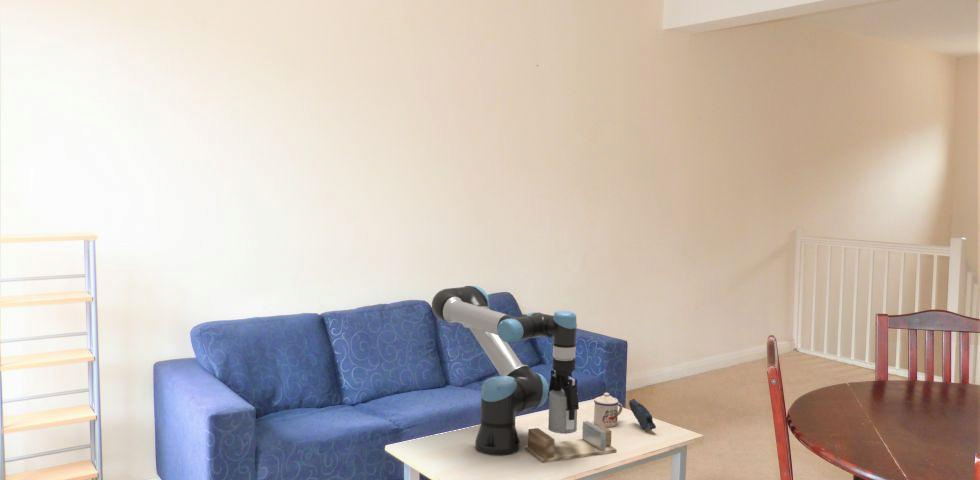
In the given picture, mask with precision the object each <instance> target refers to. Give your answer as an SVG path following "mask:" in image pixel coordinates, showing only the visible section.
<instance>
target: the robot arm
mask: <svg viewBox="0 0 980 480" xmlns="http://www.w3.org/2000/svg"><path fill="white" fill-rule="evenodd" d="M489 300H490V299H489V296H488V294H487V292H486V291H485V290H484V289H483V288H482V287H481V286H480V287H479V286H478V285H466V286H460V287H451V288H450V287H449V288H444V289H442V290H441V289H440V290H439V291H438V292H437V293H435V295H434V296H433V298H432V300H431V310H432V314H433V315H434V316H435V317H436V318H437V319H438V320H440V321H442V322H445V323H449V324H454V323H459V324H461V325H462V327H464V328H465V329H469V330H470V331H471V333H472V334H473V336H474V337H475V340H477V342H478V344H479V345H480V347H481V348H482V350H484V351H483V352H484V353H485V354H486V356H487V358H489V360H490V362H491V363H492V365H493V366H494V368H495V370H496V371H497V373H498V374H499V376H498V375H497V376H492V377H489V378H487V379H485V380H484V382H483V383H482V384H481V385H482V386H481V392H480V397H481V399H480V401H481V402H480V426H479V429H478V432H477V434H476V437H475V443H474V445H475V446H474V448H475V450H476V451H478V452H480V453H482V454H486V455H489V456H490V455H491V456H507V455H512V454H514V453H517V452H519V450H520V448H521V441H520V437H519V435H518V430H517V428H516V414H520V413H524V412H526V411H527V412H528V411H530V410H535V409H538V408H539V407H542V406H543V405H544V404H546V402H547V400H548V398H549V392H550V391H551V390H554V391H560V390H562V389H563V390H564V393H565V397H567V401H566V403H567V409H566V430H568V429H574V415H575V410H577V411H578V410H580V409H579V408H580V406H579V397H578V396H579V393H578V379H577V378H573V374H572V372H574V371H575V370H576V353H577V352H576V350H577V348H576V346H577V343H576V341H577V340H576V339H577V327H578V324H577V314H576V313H575V312H574V311H572V310H571V311H570V310H568V311H567V310H557V311H554V314H553V315H551V314H546V313H542V312H532V311H531V312H529V313H528V314H527V315H524V316H520V317H519V316H518V317H517V316H513V315H509V314H506V313H503V312H500V311H495V310H492V309H490V302H489ZM539 337H543V338H549V339H552V357H553V358H552V370H550V379H549V380H550V381H549V385H548V381H547V379H546V377H544V376H543V375H542V374H541V373H538V372H533V371H532V369H531V367H530V366H529V365H528V364H523V363H522V362H521V360H520V359H519V357H518V356H517V355H516V353H515V352H514V350H513V348H512V347H511V346H510V344H509V343H516V342H520V341H524V340H529V339H534V338H539ZM577 393H578V394H577ZM575 405H576V406H575Z"/></svg>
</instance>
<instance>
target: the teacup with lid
mask: <svg viewBox="0 0 980 480" xmlns="http://www.w3.org/2000/svg"><path fill="white" fill-rule="evenodd" d="M593 402H594V407H593V408H594V413H593V414H594V415H593V416H594V417H593V423H594V425H595V426H601V425H603V426H604V427H606V428H612V427H616V426H617V425H618V416H619V415H621V413H622V412H623V404H622V403H620V402H619V400H618V398H616V397H613V396H612V395H610V393H609V392H604V393H603V395H601V396H598V397H595V398H594V400H593ZM618 409H619V410H618Z"/></svg>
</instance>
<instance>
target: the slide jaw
mask: <svg viewBox="0 0 980 480" xmlns="http://www.w3.org/2000/svg"><path fill="white" fill-rule="evenodd" d="M581 439H584V440H585V441H587V442H588V443H590V444H592V445H593V446H595V447H596V448H598V449H599V450H605V449H606V446H608V445H610V446H612V430H611V429H610V428H609V427H604V426H603V425H601V426H598V425H596V424H595V423H594V424H593V422H590V421H588V420H585V421H582V437H581Z"/></svg>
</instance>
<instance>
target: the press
mask: <svg viewBox="0 0 980 480" xmlns="http://www.w3.org/2000/svg"><path fill="white" fill-rule="evenodd" d="M527 431H528V434H527V445H525V446H524V450H525V451H526V452H527V453H529V454H530V455H531V456H532V457H534V458H535V459H536V460H538V461H539V462H540V463H550V462H557V461H563V460H570V459H571V460H572V459H578V458H585V457H592V456H593V457H594V456H598V455H599V456H601V455H605V454H606V455H607V454H614V453H617V449H616V448H615V447H613V446H612V445H608V446H606V449H605V450H599V449H598V448H596V447H595V446H593V445H592V444H590V443H588V442H587V441H585V440H584V439H582V438H580V439H571V440H570V439H569V440H564V441H556V442H555V440H556V439H555V438H554V437H552V436H550V435H549V434H547V433H546V432H545V431H543V430H542V429H540V428H539V427H535V428H529V429H527Z"/></svg>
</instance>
